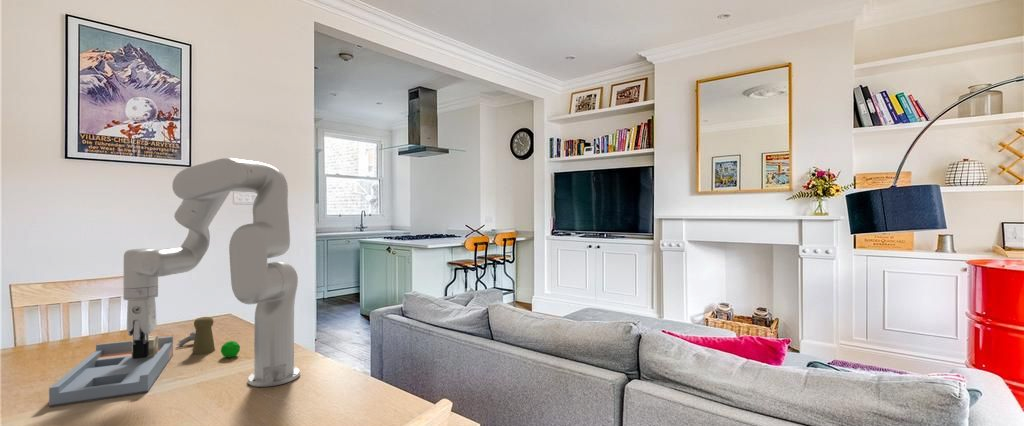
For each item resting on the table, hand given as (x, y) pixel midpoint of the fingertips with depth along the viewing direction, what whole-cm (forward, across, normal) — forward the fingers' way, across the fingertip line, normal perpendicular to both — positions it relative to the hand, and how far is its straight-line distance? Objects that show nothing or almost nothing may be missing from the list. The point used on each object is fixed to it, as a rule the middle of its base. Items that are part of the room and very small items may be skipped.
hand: (140, 357), depth 126 cm
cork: (+4, +13, -13) cm, 19 cm away
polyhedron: (+4, +3, -21) cm, 22 cm away
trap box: (+4, -3, +4) cm, 6 cm away
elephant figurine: (+4, +24, -10) cm, 26 cm away
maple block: (+1, +5, 0) cm, 5 cm away
